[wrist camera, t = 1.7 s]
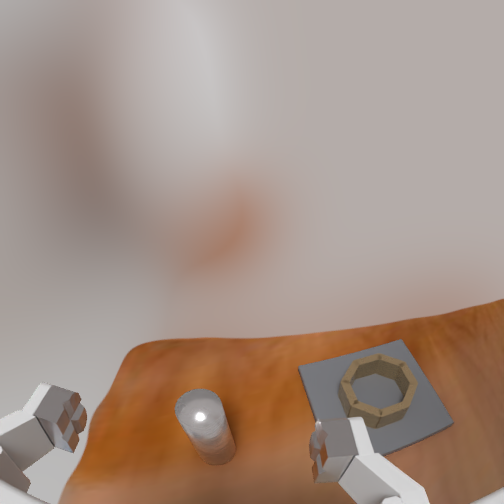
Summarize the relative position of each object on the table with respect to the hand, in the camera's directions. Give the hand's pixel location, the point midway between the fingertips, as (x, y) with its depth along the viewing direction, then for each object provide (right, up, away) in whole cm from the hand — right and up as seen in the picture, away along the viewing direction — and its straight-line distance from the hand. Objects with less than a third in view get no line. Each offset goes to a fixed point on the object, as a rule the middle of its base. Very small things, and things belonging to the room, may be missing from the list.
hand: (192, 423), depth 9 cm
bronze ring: (+17, -12, +25) cm, 33 cm away
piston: (-2, -17, +22) cm, 28 cm away
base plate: (+17, -13, +25) cm, 33 cm away
